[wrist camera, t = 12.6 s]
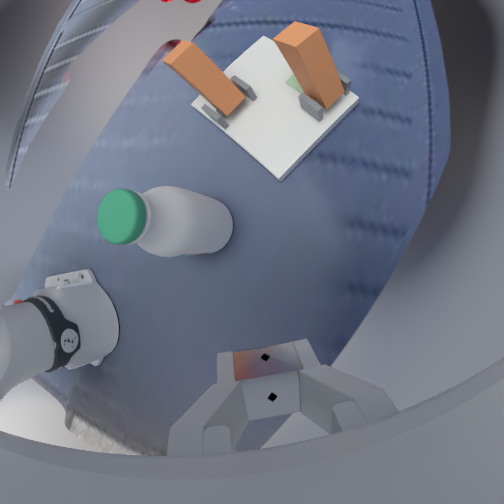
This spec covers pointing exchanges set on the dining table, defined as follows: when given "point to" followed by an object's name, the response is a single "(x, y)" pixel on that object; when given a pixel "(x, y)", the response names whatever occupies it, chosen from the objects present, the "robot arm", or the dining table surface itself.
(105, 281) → the dining table surface
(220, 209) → the milk bottle
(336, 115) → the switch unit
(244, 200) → the dining table surface
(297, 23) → the lever
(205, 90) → the lever
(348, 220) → the dining table surface
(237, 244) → the dining table surface
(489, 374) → the robot arm
